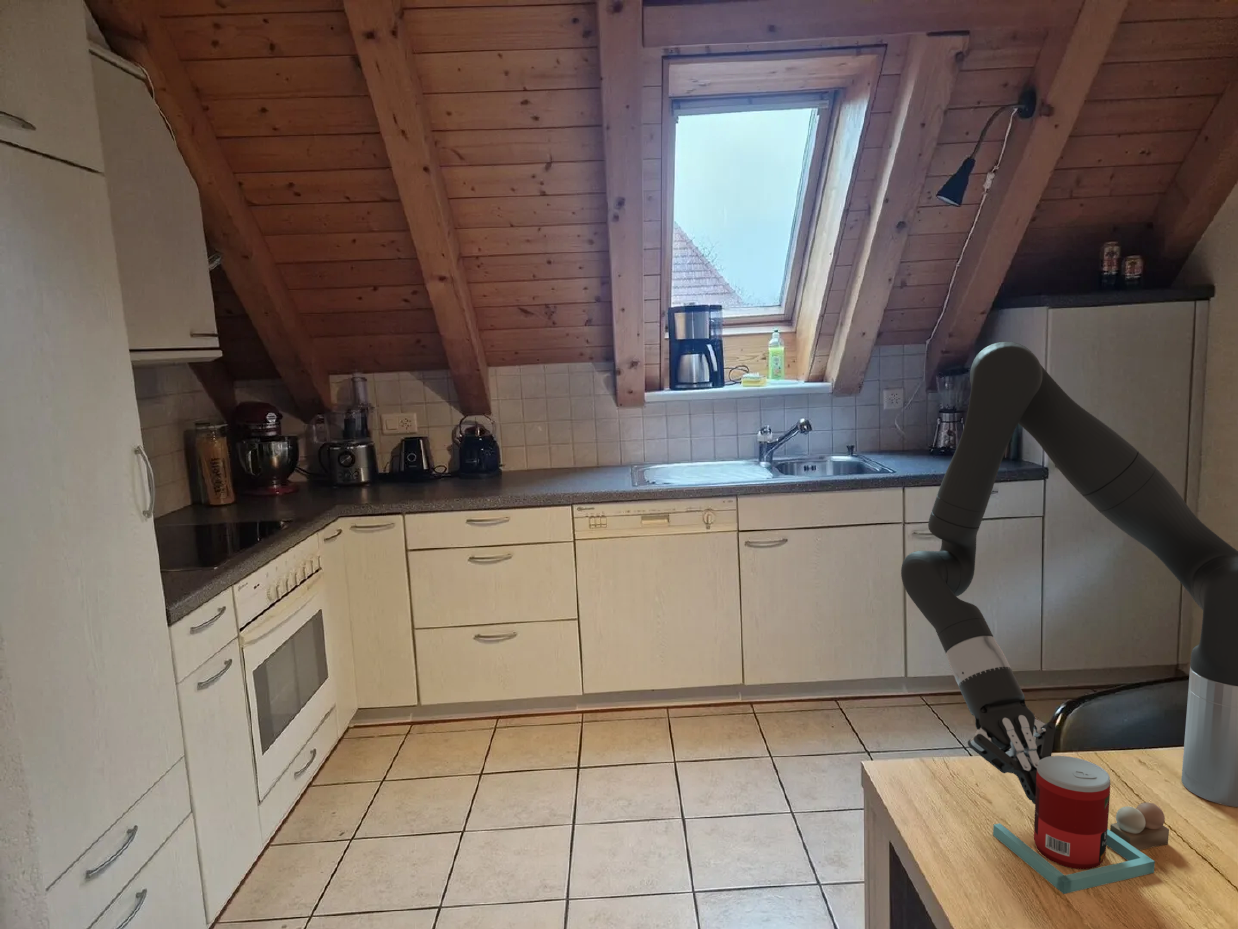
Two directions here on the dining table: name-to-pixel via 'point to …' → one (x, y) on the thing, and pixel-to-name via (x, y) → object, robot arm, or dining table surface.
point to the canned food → (1071, 811)
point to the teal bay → (1085, 879)
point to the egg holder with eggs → (1141, 826)
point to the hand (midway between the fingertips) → (1042, 801)
